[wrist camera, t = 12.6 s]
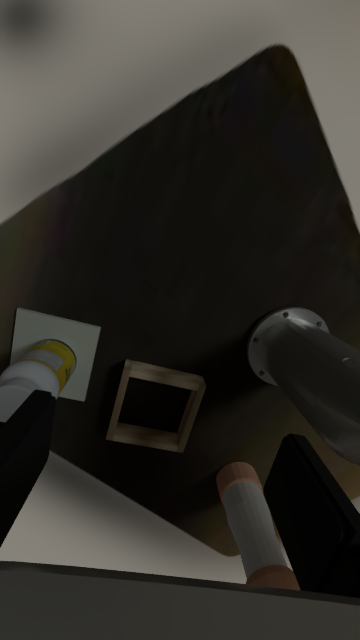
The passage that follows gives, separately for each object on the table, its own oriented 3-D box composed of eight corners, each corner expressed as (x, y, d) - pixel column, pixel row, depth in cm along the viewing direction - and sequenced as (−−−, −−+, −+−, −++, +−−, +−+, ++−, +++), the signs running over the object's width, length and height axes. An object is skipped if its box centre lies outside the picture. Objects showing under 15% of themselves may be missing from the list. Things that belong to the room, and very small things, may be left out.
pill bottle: (52, 386, 40) (11, 443, 29) (20, 352, 38) (-36, 400, 27) (87, 363, 39) (60, 412, 28) (57, 327, 37) (15, 365, 26)
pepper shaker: (210, 490, 49) (242, 641, 31) (223, 458, 47) (266, 599, 29) (247, 496, 50) (299, 645, 32) (261, 465, 48) (325, 605, 30)
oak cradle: (202, 376, 42) (206, 386, 39) (181, 439, 45) (182, 452, 42) (126, 359, 40) (123, 368, 37) (109, 425, 43) (105, 439, 40)
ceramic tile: (101, 327, 38) (100, 328, 38) (85, 399, 41) (84, 401, 41) (19, 307, 37) (17, 308, 36) (9, 384, 40) (7, 386, 39)
